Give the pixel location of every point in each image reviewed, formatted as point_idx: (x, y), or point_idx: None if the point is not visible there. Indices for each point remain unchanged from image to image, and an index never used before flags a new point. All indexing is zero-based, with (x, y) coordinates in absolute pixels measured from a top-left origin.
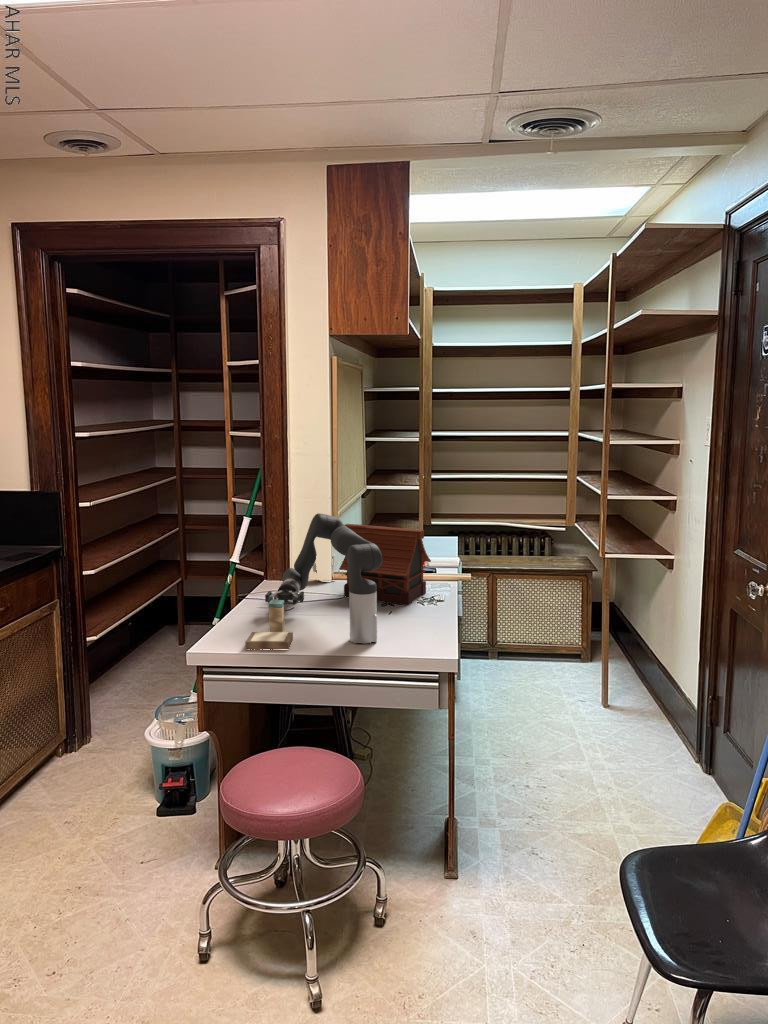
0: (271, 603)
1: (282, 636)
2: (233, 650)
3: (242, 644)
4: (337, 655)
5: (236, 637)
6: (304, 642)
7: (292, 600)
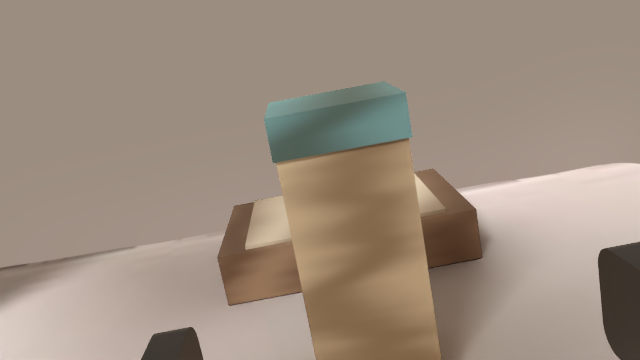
0: (359, 86)
1: (269, 217)
2: (492, 195)
3: (497, 224)
4: (36, 265)
5: None
6: (160, 303)
7: (194, 334)
